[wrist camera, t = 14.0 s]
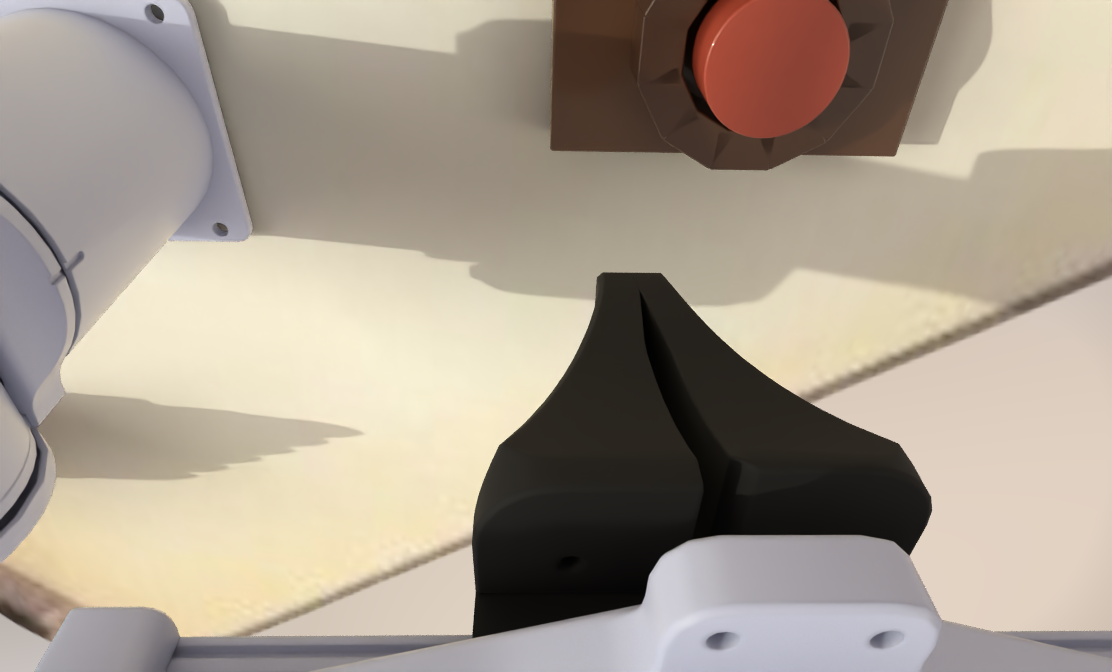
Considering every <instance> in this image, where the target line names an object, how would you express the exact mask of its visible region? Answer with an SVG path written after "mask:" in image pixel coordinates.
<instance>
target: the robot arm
mask: <svg viewBox="0 0 1112 672" xmlns="http://www.w3.org/2000/svg"><path fill="white" fill-rule="evenodd" d="M152 4H154V5H157V6H158V7H159V8H160V9H161V10H162V11H163V13H164V20H159V19H157V18H156V17H155V16H154V15H153V13H152V11H151V5H152ZM217 223H221V224H223V225H225V226H226V227H227V229H228V231H224V230H222V229H220V228H219V227H218V225H217ZM252 231H253V226H252V222H251V218H250V214H249V211H248V207H247V203H246V200H245V196H244V192H243V189H242V185H241V181H240V178H239V174H238V170H237V167H236V163H235V159H234V156H233V152H232V148H231V144H230V141H229V137H228V133H227V130H226V126H225V122H224V119H223V115H222V111H221V108H220V104H219V100H218V97H217V93H216V89H215V86H214V82H213V78H212V75H211V71H210V67H209V64H208V60H207V56H206V52H205V49H204V45H203V41H202V38H201V34H200V30H199V27H198V23H197V19H196V16H195V12H194V10H193V8H192V5H191V4H190V3H189V2H188V1H187V0H0V563H2V562H3V561H4V560H5V559H6V558H7V557H8V556H9V555H10V554H11V553H12V552H13V551H14V550H15V549H16V548H17V547H18V546H19V544H20V543H21V542H22V541H23V540H24V539H25V538H26V537H27V535H28V534H29V533H30V532H31V531H32V529H33V528H34V526H35V525H36V523H37V522H38V520H39V519H40V518H41V516H42V515H43V513H44V511H45V509H46V507H47V505H48V503H49V501H50V499H51V496H52V493H53V489H54V485H55V481H56V462H55V459H54V456H53V453H52V450H51V448H50V446H49V445H48V444H47V442H46V441H45V439H44V438H43V436H42V435H41V433H40V432H39V431H38V429H37V428H36V427H38V426H39V425H40V424H41V423H42V421H43V420H44V419H45V418H46V417H47V415H48V414H49V413H50V412H51V410H52V409H53V408H54V407H55V406H56V404H57V403H58V402H59V401H60V399H61V398H62V397H63V396H64V395H65V390H64V387H63V385H62V383H61V378H60V367H61V364H62V362H63V360H64V358H65V357H66V356H67V355H68V354H69V353H70V351H71V350H72V349H73V348H74V347H75V346H76V345H77V343H78V342H79V341H80V340H81V339H82V338H83V337H84V335H85V334H86V333H87V332H88V331H89V330H90V329H91V327H92V326H93V325H94V324H95V323H96V322H97V321H98V320H99V318H100V317H101V316H102V315H103V314H104V313H105V312H106V310H107V309H108V308H109V307H110V306H111V305H112V304H113V302H114V301H115V300H116V299H117V298H118V297H119V296H120V294H121V293H122V292H123V291H124V290H125V289H126V288H127V286H128V285H129V284H130V283H131V282H132V281H133V280H134V278H135V277H136V276H137V275H138V274H139V273H140V272H141V270H142V269H143V268H144V267H145V266H146V265H147V264H148V262H149V261H150V260H151V259H152V258H153V257H154V256H155V255H156V253H157V252H158V251H159V250H160V249H161V248H162V247H163V245H164V244H165V243H166V242H167V241H222V242H240V241H245V240H246V239H247V238H248V237H249V236H250V234H251V233H252ZM931 512H932V504H931V496H930V495H929V493H928V491H927V489H926V487H925V486H924V484H923V482H922V480H921V479H920V476H919V475H918V473H917V471H916V469H915V467H914V466H913V464H912V463H911V461H910V460H909V458H908V457H907V455H906V454H905V452H904V451H903V449H902V448H901V446H900V445H899V444H898V443H895V442H893V441H891V440H888V439H886V438H883V437H881V436H878V435H876V434H874V433H871V432H869V431H866V430H864V429H861V428H859V427H856V426H854V425H852V424H849V423H847V422H845V421H843V420H841V419H839V418H837V417H835V416H833V415H831V414H829V413H827V412H825V411H823V410H821V409H819V408H818V407H815V406H814V405H812V404H810V403H809V402H807V401H805V400H803V399H802V398H800V397H798V396H797V395H795V394H793V393H792V392H790V391H789V390H787V389H785V388H784V387H782V386H780V385H779V384H777V383H776V382H774V381H773V380H772V379H770V378H769V377H767V376H766V375H764V374H763V373H762V372H760V371H759V370H758V369H756V368H755V367H754V366H752V365H751V364H750V363H749V362H747V361H746V360H745V359H743V358H742V357H741V356H740V355H739V354H737V353H736V352H735V351H734V350H733V349H732V348H731V347H729V346H728V345H727V344H726V343H725V342H724V341H723V340H722V339H721V338H720V337H718V336H717V335H716V334H715V333H714V332H713V331H712V330H711V329H710V328H709V327H708V326H707V325H706V324H705V322H704V321H703V320H702V319H701V318H700V317H699V316H698V315H697V314H696V313H695V312H694V311H693V310H692V308H691V307H690V306H689V305H688V304H687V303H686V302H685V300H684V299H683V298H682V297H681V296H680V295H679V293H678V292H677V291H676V290H675V289H674V287H673V286H672V285H671V284H670V283H669V282H668V280H667V279H666V278H665V277H664V276H663V275H662V274H661V273H602V274H600V275H599V276H598V277H597V285H596V299H595V308H594V311H593V314H592V317H591V321H590V324H589V326H588V329H587V331H586V334H585V336H584V338H583V340H582V343H581V345H580V347H579V349H578V351H577V353H576V355H575V357H574V359H573V361H572V362H571V364H570V366H569V367H568V369H567V371H566V372H565V374H564V376H563V377H562V378H561V380H560V381H559V383H558V384H557V386H556V387H555V389H554V390H553V391H552V393H551V394H550V395H549V397H548V398H547V399H546V400H545V402H544V403H543V404H542V405H541V406H540V407H539V408H538V409H537V410H536V411H535V413H534V414H533V415H532V416H531V417H530V418H529V419H528V420H527V421H526V422H525V423H524V424H523V425H522V426H521V427H520V428H519V429H518V430H517V431H515V432H514V433H513V434H512V435H511V436H510V437H509V438H507V439H506V440H505V441H504V442H503V443H502V444H500V445H499V447H498V449H497V451H496V453H495V456H494V458H493V460H492V462H491V464H490V467H489V469H488V471H487V474H486V476H485V479H484V481H483V484H482V487H481V490H480V493H479V496H478V500H477V504H476V508H475V513H474V524H473V538H472V549H473V562H474V575H475V586H476V598H475V609H474V623H473V634H472V635H410V636H409V635H404V636H403V635H400V636H399V635H398V636H258V637H257V636H242V637H180V636H179V633H178V630H177V627H176V626H175V624H174V622H173V621H172V619H171V618H170V617H169V616H168V615H167V614H166V613H164V612H162V611H159V610H157V609H155V608H147V607H78V608H75V609H72V610H71V611H70V612H69V613H68V615H67V617H66V618H65V620H64V622H63V624H62V625H61V627H60V629H59V630H58V632H57V634H56V635H55V637H54V639H53V640H52V642H51V644H50V646H49V647H48V649H47V651H46V652H45V654H44V656H43V658H42V659H41V661H40V662H39V664H38V666H37V668H36V669H35V671H34V672H1112V631H1020V632H1018V631H1016V632H1015V631H1014V632H1012V631H1011V632H993V631H988V630H984V629H980V628H975V627H971V626H967V625H962V624H958V623H953V622H949V621H945V620H941V618H940V616H939V614H938V612H937V610H936V608H935V606H934V604H933V602H932V600H931V598H930V596H929V594H928V592H927V590H926V588H925V586H924V584H923V582H922V580H921V578H920V576H919V574H918V572H917V570H916V568H915V566H914V564H913V562H912V560H911V558H910V554H911V552H912V550H913V549H914V547H915V545H916V543H917V541H918V540H919V538H920V536H921V534H922V533H923V531H924V529H925V527H926V526H927V523H928V520H929V518H930V515H931Z"/></svg>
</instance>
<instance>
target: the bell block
mask: <svg viewBox="0 0 1112 672" xmlns="http://www.w3.org/2000/svg"><path fill="white" fill-rule="evenodd" d="M716 1H717V0H552V39H551V86H550V149H551V150H552V151H600V152H660V153H684V154H686V155H688V156H689V157H691V158H692V159H694V160H696V161H697V162H699V163H700V164H702V165H704V166H705V167H707V168H710V169H718V170H768V169H772V168H774V167H776V166H778V165H780V164H783V163H785V162H787V161H789V160H791V159H793V158H795V157H797V156H799V155H838V156H895V155H896V152H897V150H898V147H899V144H900V141H901V138H902V135H903V132H904V129H905V126H906V123H907V120H908V117H909V114H910V112H911V109H912V106H913V103H914V100H915V97H916V94H917V91H918V88H919V85H920V82H921V79H922V76H923V74H924V71H925V68H926V65H927V62H928V59H929V56H930V53H931V50H932V47H933V44H934V41H935V38H936V36H937V33H938V30H939V27H940V24H941V21H942V18H943V15H944V12H945V9H946V6H947V3H948V0H829V1H830V2H831V3H832V4H833V5H834V6H835V7H836V8H837V10H838V11H839V12H840V14H841V15H842V17H843V19H844V21H845V24H846V26H847V29H848V34H849V39H850V58H849V64H848V68H847V72H846V75H845V78H844V81H843V83H842V85H841V87H840V89H839V91H838V92H837V94H836V96H835V97H834V99H833V100H832V101H831V103H830V104H829V105H828V106H827V107H826V108H825V110H824V111H823V112H822V113H821V114H820V115H818V116H817V117H816V118H815V119H814V120H812V121H811V122H810V123H808V124H807V125H805V126H803V127H802V128H800V129H798V130H796V131H793V132H791V133H789V134H785V135H782V136H778V137H772V138H752V137H747V136H743V135H741V134H738V133H736V132H734V131H732V130H730V129H729V128H727V127H726V126H725V125H723V124H722V123H721V122H720V121H719V120H718V119H717V118H716V116H715V115H714V113H713V112H712V110H711V109H710V107H709V105H708V104H707V102H706V100H705V99H704V97H703V95H702V94H701V92H700V90H699V88H698V86H697V84H696V81H695V78H694V74H693V69H692V50H693V44H694V40H695V37H696V34H697V31H698V28H699V26H700V24H701V22H702V20H703V18H704V17H705V15H706V14H707V12H708V11H709V9H710V8H711V7H712V6H713V4H714V3H715V2H716Z"/></svg>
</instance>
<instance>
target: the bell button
mask: <svg viewBox="0 0 1112 672" xmlns="http://www.w3.org/2000/svg"><path fill="white" fill-rule="evenodd" d="M849 58H850V39H849V34H848V29H847V26H846V24H845V21H844V19H843V17H842V15H841V14H840V12H839V11H838V10H837V8H836V7H835V6H834V5H833V4H832V3H831V2H830V1H829V0H717V1H716V2H715V3H714V4H713V6H712V7H711V8H710V9H709V11H708V12H707V14H706V15H705V17H704V18H703V20H702V22H701V24H700V26H699V28H698V31H697V34H696V37H695V40H694V44H693V50H692V69H693V74H694V78H695V81H696V84H697V86H698V88H699V90H700V92H701V94H702V95H703V97H704V99H705V100H706V102H707V104H708V105H709V107H710V109H711V110H712V112H713V113H714V115H715V116H716V118H717V119H718V120H719V121H720V122H721V123H722V124H723V125H725V126H726V127H727V128H729V129H730V130H732V131H734V132H736V133H738V134H741V135H743V136H747V137H752V138H772V137H778V136H782V135H785V134H789V133H791V132H793V131H796V130H798V129H800V128H802V127H803V126H805V125H807V124H808V123H810V122H811V121H812V120H814V119H815V118H816V117H817V116H818V115H820V114H821V113H822V112H823V111H824V110H825V108H826V107H827V106H828V105H829V104H830V103H831V101H832V100H833V99H834V97H835V96H836V94H837V92H838V91H839V89H840V87H841V85H842V83H843V81H844V78H845V75H846V72H847V68H848V64H849Z"/></svg>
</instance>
